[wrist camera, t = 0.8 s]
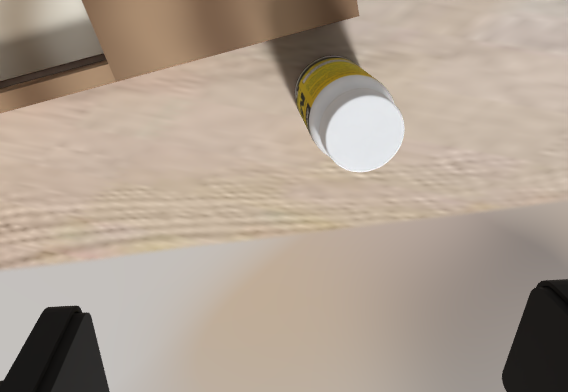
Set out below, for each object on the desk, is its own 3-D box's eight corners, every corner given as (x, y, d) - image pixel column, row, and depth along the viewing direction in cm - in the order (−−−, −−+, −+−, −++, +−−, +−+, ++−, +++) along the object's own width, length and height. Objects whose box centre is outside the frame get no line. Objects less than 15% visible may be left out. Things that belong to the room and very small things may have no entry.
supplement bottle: (280, 81, 28) (298, 120, 20) (344, 39, 27) (388, 64, 20) (316, 140, 30) (345, 196, 22) (377, 103, 29) (427, 148, 22)
